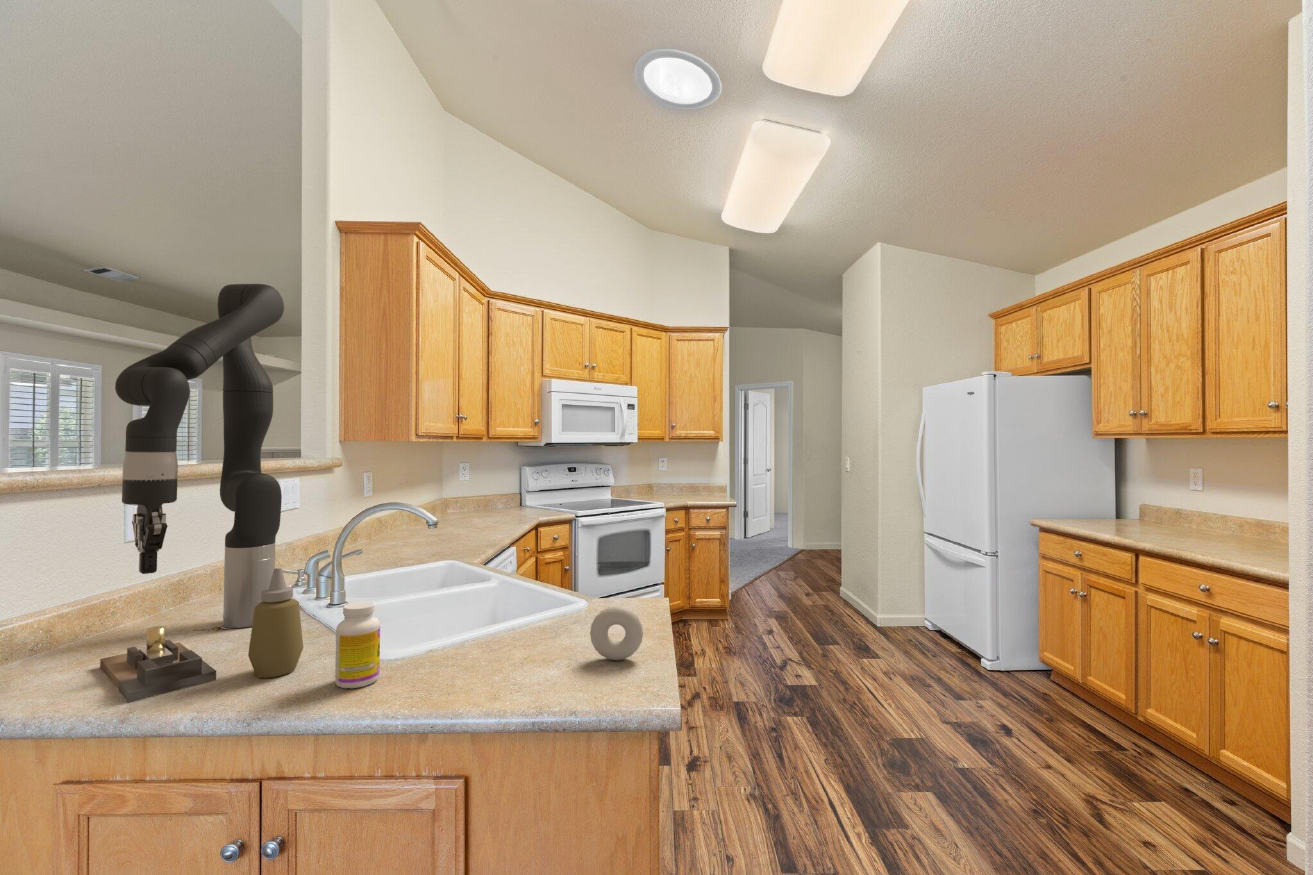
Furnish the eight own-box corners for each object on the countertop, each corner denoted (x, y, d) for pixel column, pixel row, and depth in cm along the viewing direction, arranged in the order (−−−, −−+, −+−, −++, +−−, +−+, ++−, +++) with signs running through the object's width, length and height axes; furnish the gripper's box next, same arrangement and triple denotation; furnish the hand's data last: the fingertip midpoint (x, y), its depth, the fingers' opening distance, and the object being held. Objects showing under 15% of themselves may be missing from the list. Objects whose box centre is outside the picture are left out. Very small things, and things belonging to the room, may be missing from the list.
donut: (643, 656, 110) (643, 604, 110) (642, 663, 106) (643, 609, 106) (590, 655, 110) (591, 603, 110) (588, 662, 106) (589, 608, 106)
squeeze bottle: (243, 685, 95) (245, 575, 95) (251, 667, 102) (253, 566, 102) (301, 676, 99) (303, 571, 99) (304, 660, 106) (306, 562, 106)
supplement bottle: (384, 682, 96) (386, 605, 96) (340, 693, 92) (342, 613, 92) (372, 670, 101) (374, 597, 102) (330, 680, 97) (332, 604, 97)
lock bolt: (160, 654, 103) (161, 621, 103) (172, 665, 98) (173, 630, 99) (138, 659, 101) (139, 625, 101) (149, 670, 96) (150, 634, 96)
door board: (179, 650, 110) (179, 628, 110) (216, 679, 97) (216, 654, 97) (100, 667, 101) (100, 643, 102) (128, 702, 88) (129, 674, 88)
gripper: (187, 477, 103) (184, 574, 103) (167, 474, 111) (164, 564, 111) (131, 479, 97) (128, 582, 97) (114, 476, 105) (111, 571, 105)
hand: (147, 572), depth 104 cm, fingers closed
